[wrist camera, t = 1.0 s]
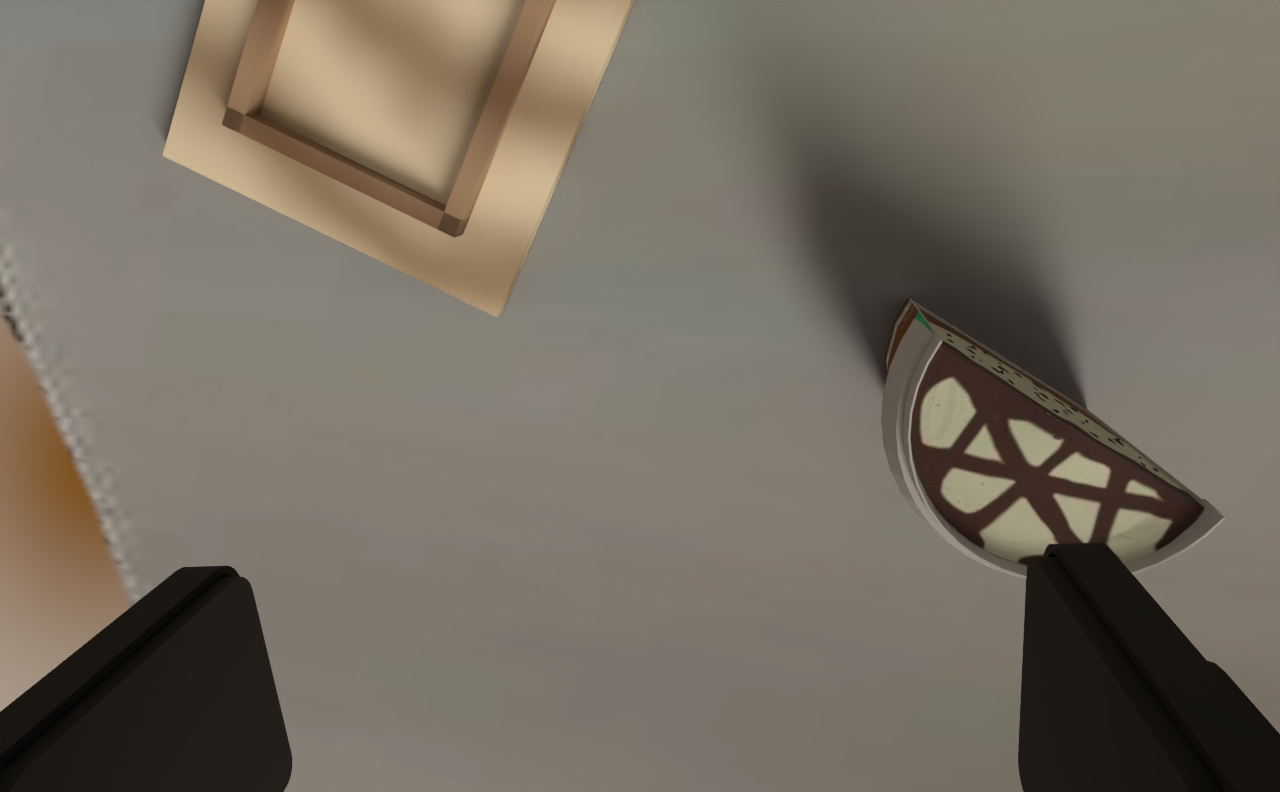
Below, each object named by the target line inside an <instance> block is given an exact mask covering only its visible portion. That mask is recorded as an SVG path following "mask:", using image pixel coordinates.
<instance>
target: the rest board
mask: <svg viewBox="0 0 1280 792" xmlns="http://www.w3.org/2000/svg"><path fill="white" fill-rule="evenodd" d="M634 2H635V0H205V3H204V6H203V10H202V14H201V17H200V21H199V25H198V28H197V32H196V36H195V39H194V43H193V47H192V50H191V54H190V58H189V61H188V65H187V68H186V72H185V76H184V79H183V83H182V87H181V90H180V94H179V98H178V101H177V105H176V109H175V112H174V116H173V120H172V123H171V127H170V131H169V134H168V138H167V141H166V145H165V149H164V152H163V156H164V157H166V158H168V159H170V160H172V161H174V162H177V163H179V164H181V165H183V166H185V167H187V168H189V169H191V170H193V171H195V172H197V173H199V174H201V175H203V176H205V177H208V178H210V179H212V180H214V181H216V182H218V183H220V184H222V185H224V186H226V187H228V188H230V189H232V190H234V191H237V192H239V193H241V194H243V195H245V196H247V197H249V198H251V199H253V200H255V201H257V202H259V203H261V204H263V205H266V206H268V207H270V208H272V209H274V210H276V211H278V212H280V213H282V214H284V215H286V216H288V217H290V218H292V219H295V220H297V221H299V222H301V223H303V224H305V225H307V226H309V227H311V228H313V229H315V230H317V231H319V232H321V233H323V234H326V235H328V236H330V237H332V238H334V239H336V240H338V241H340V242H342V243H344V244H346V245H348V246H350V247H352V248H355V249H357V250H359V251H361V252H363V253H365V254H367V255H369V256H371V257H373V258H375V259H377V260H379V261H381V262H384V263H386V264H388V265H390V266H392V267H394V268H396V269H398V270H400V271H402V272H404V273H406V274H408V275H410V276H412V277H415V278H417V279H419V280H421V281H423V282H425V283H427V284H429V285H431V286H433V287H435V288H437V289H439V290H441V291H444V292H446V293H448V294H450V295H452V296H454V297H456V298H458V299H460V300H462V301H464V302H466V303H468V304H470V305H473V306H475V307H477V308H479V309H481V310H483V311H485V312H487V313H489V314H491V315H493V316H495V317H497V316H499V315H500V314H501V313H502V312H503V310H504V307H505V305H506V303H507V300H508V298H509V296H510V293H511V291H512V288H513V286H514V284H515V281H516V279H517V277H518V274H519V272H520V270H521V267H522V265H523V263H524V260H525V258H526V256H527V253H528V251H529V249H530V246H531V244H532V242H533V239H534V237H535V234H536V232H537V230H538V227H539V225H540V223H541V220H542V218H543V216H544V213H545V211H546V209H547V206H548V204H549V202H550V199H551V197H552V195H553V192H554V190H555V188H556V185H557V183H558V180H559V178H560V176H561V173H562V171H563V169H564V166H565V164H566V162H567V159H568V157H569V155H570V152H571V150H572V148H573V145H574V143H575V141H576V138H577V136H578V134H579V131H580V129H581V126H582V124H583V122H584V119H585V117H586V115H587V112H588V110H589V108H590V105H591V103H592V101H593V98H594V96H595V94H596V91H597V89H598V87H599V84H600V82H601V80H602V77H603V75H604V72H605V70H606V68H607V65H608V63H609V61H610V58H611V56H612V54H613V51H614V49H615V47H616V44H617V42H618V40H619V37H620V35H621V33H622V30H623V28H624V26H625V23H626V21H627V18H628V16H629V14H630V11H631V9H632V7H633V4H634Z"/></svg>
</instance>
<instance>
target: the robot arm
mask: <svg viewBox="0 0 1280 792" xmlns="http://www.w3.org/2000/svg"><path fill="white" fill-rule="evenodd" d="M1018 765H1019V774H1020V779H1021V784H1022V788H1023V791H1024V792H1280V734H1279V733H1278V732H1277V731H1276V730H1275V728H1274V727H1273V726H1272V725H1271V724H1270V723H1269V722H1268V720H1267V719H1266V718H1265V717H1264V716H1263V715H1262V714H1261V712H1260V711H1259V710H1258V709H1257V708H1256V707H1255V706H1254V704H1253V703H1252V702H1251V701H1250V700H1249V699H1248V698H1247V696H1246V695H1245V694H1244V693H1243V692H1242V691H1241V690H1240V688H1239V687H1238V686H1237V685H1236V684H1235V683H1234V682H1233V680H1232V679H1231V678H1230V677H1229V676H1228V675H1227V674H1226V672H1225V671H1224V670H1222V669H1221V668H1220V667H1219V666H1218V665H1216V664H1215V663H1213V662H1209V661H1206V659H1205V658H1204V657H1203V656H1202V655H1201V654H1200V652H1199V651H1198V650H1197V649H1196V648H1195V647H1194V645H1193V644H1192V643H1191V642H1190V641H1189V640H1188V638H1187V637H1186V636H1185V635H1184V634H1183V633H1182V631H1181V630H1180V629H1179V628H1178V627H1177V626H1176V624H1175V623H1174V622H1173V621H1172V620H1171V619H1170V617H1169V616H1168V615H1167V614H1166V613H1165V612H1164V610H1163V609H1162V608H1161V607H1160V606H1159V605H1158V603H1157V602H1156V601H1155V600H1154V599H1153V598H1152V596H1151V595H1150V594H1149V593H1148V592H1147V591H1146V589H1145V588H1144V587H1143V586H1142V585H1141V584H1140V582H1139V581H1138V580H1137V579H1136V578H1135V577H1134V576H1133V574H1132V573H1131V572H1130V571H1129V570H1128V569H1127V567H1126V566H1125V565H1124V564H1123V563H1122V562H1121V560H1120V559H1119V558H1118V557H1117V556H1116V555H1115V553H1114V552H1113V551H1112V550H1111V549H1110V548H1109V546H1107V545H1106V544H1105V543H1070V544H1049V545H1048V546H1047V547H1046V549H1045V552H1044V557H1031V558H1030V559H1029V562H1028V565H1027V577H1026V598H1025V620H1024V642H1023V664H1022V685H1021V707H1020V729H1019V751H1018ZM291 771H292V754H291V750H290V746H289V741H288V737H287V733H286V729H285V725H284V720H283V716H282V712H281V708H280V704H279V699H278V695H277V691H276V687H275V683H274V678H273V674H272V670H271V666H270V661H269V657H268V653H267V649H266V645H265V640H264V636H263V632H262V628H261V624H260V619H259V615H258V611H257V607H256V603H255V598H254V594H253V590H252V587H251V584H250V583H249V581H248V580H247V579H246V578H244V577H240V576H239V574H238V573H237V572H236V570H235V569H234V568H232V567H230V566H207V567H183V568H181V569H179V570H177V571H176V572H174V573H173V574H172V575H171V576H169V577H168V578H167V579H166V580H164V581H163V582H162V583H161V584H159V585H158V586H157V587H156V588H154V589H153V590H152V591H151V592H149V593H148V594H147V595H146V596H144V597H143V598H142V599H141V600H139V601H138V602H137V603H136V604H134V605H133V606H132V607H131V608H129V609H128V610H127V611H126V612H124V613H123V614H122V615H121V616H119V617H118V618H117V619H116V620H115V621H113V622H112V623H111V624H110V625H108V626H107V627H106V628H104V629H103V630H102V631H101V632H100V633H98V634H97V635H96V636H94V637H93V638H92V639H91V640H89V641H88V642H87V643H86V644H84V645H83V646H82V647H81V648H80V649H79V650H77V651H76V652H75V653H73V654H72V655H71V656H70V657H68V658H67V659H66V660H65V661H63V662H62V663H61V664H60V665H58V666H57V667H56V668H55V669H54V670H52V671H51V672H50V673H48V674H47V675H46V676H45V677H43V678H42V679H41V680H40V681H38V682H37V683H36V684H35V685H33V686H32V687H31V688H30V689H28V690H27V691H26V692H25V693H23V694H22V695H21V696H20V697H18V698H17V699H16V700H15V701H13V702H12V703H11V704H10V705H9V706H7V707H6V708H5V709H3V710H2V711H1V712H0V792H283V791H284V790H285V788H286V786H287V784H288V782H289V779H290V776H291Z"/></svg>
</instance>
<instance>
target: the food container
mask: <svg viewBox="0 0 1280 792" xmlns="http://www.w3.org/2000/svg"><path fill="white" fill-rule="evenodd" d="M885 361H886V378H887V380H886V384H885V388H884V392H883V403H882V417H881V422H882V433H883V443H884V448H885V452H886V455H887V459H888V463H889V466H890V470H891V472H892V474H893V476H894V478H895V480H896V482H897V485H898V487H899V489H900V491H901V493H902V494H903V496H904V497H905V498H906V500H907V501H908V503H909V504H910V505H911V507H912V508H913V510H914V511H915V513H916V514H917V515H918V516H919V517H920V518H921V519H922V520H923V521H924V522H925V523H926V524H927V525H928V526H929V527H930V528H931V529H932V530H933V531H935V532H936V533H937V534H938V535H940V536H941V537H942V538H943V539H945V540H946V541H947V542H949V543H950V544H951V545H953V546H954V547H955V548H957V549H958V550H960V551H961V552H962V553H964V554H965V555H967V556H968V557H970V558H972V559H974V560H976V561H978V562H980V563H982V564H984V565H986V566H988V567H990V568H992V569H995V570H998V571H1001V572H1004V573H1007V574H1010V575H1013V576H1017V577H1022V578H1025V579H1026V577H1027V565H1028V562H1029V559H1030V558H1031V557H1044V552H1045V549H1046V547H1047V546H1048V545H1049V544H1070V543H1105V544H1106V545H1107V546H1109V548H1110V549H1111V550H1112V551H1113V552H1114V553H1115V555H1116V556H1117V557H1118V558H1119V559H1120V560H1121V562H1122V563H1123V564H1124V565H1125V566H1126V567H1127V569H1128V570H1129V571H1130V572H1131V573H1132V574H1133V575H1134V574H1137V573H1140V572H1143V571H1145V570H1148V569H1151V568H1153V567H1156V566H1159V565H1161V564H1163V563H1164V562H1166V561H1168V560H1170V559H1172V558H1174V557H1176V556H1178V555H1180V554H1182V553H1183V552H1185V551H1186V550H1188V549H1189V548H1191V547H1192V546H1193V545H1195V544H1196V543H1198V542H1199V541H1200V540H1202V539H1203V538H1205V537H1206V536H1207V535H1208V534H1210V533H1211V532H1212V531H1213V530H1214V529H1215V528H1216V527H1217V526H1218V525H1219V524H1220V523H1221V522H1223V521H1224V520H1225V519H1226V518H1225V517H1224V516H1222V514H1221V513H1220V512H1219V511H1218V510H1217V509H1216V508H1215V507H1214V506H1212V505H1211V504H1210V503H1209V502H1208V501H1206V500H1205V499H1203V500H1202V499H1201V498H1200V497H1198V496H1197V495H1196V494H1195V493H1193V492H1192V491H1191V490H1190V489H1188V488H1187V487H1186V486H1184V485H1183V484H1182V483H1181V482H1179V481H1178V480H1177V479H1175V478H1174V477H1173V476H1172V475H1170V474H1169V473H1168V472H1167V471H1165V470H1164V469H1163V468H1161V467H1160V466H1159V465H1158V464H1156V463H1155V462H1154V461H1152V460H1151V459H1150V458H1149V457H1147V456H1146V455H1145V454H1144V453H1142V452H1141V451H1140V450H1138V449H1137V448H1136V447H1135V446H1133V445H1132V444H1131V443H1130V442H1128V441H1127V440H1126V439H1124V438H1123V437H1122V436H1121V435H1119V434H1118V433H1117V432H1115V431H1114V430H1113V429H1112V428H1110V427H1109V426H1108V425H1107V424H1105V423H1104V422H1103V421H1101V420H1100V419H1099V418H1098V417H1096V416H1095V415H1094V414H1093V413H1091V412H1090V411H1089V410H1087V409H1086V408H1084V407H1083V406H1081V405H1079V404H1078V403H1076V402H1075V401H1073V400H1071V399H1070V398H1068V397H1067V396H1065V395H1063V394H1062V393H1060V392H1059V391H1057V390H1055V389H1054V388H1052V387H1051V386H1049V385H1047V384H1046V383H1044V382H1043V381H1041V380H1040V379H1038V378H1036V377H1035V376H1033V375H1032V374H1030V373H1028V372H1027V371H1025V370H1024V369H1022V368H1020V367H1019V366H1017V365H1016V364H1014V363H1012V362H1011V361H1009V360H1008V359H1006V358H1004V357H1003V356H1001V355H1000V354H998V353H996V352H995V351H993V350H992V349H990V348H988V347H987V346H985V345H984V344H982V343H980V342H979V341H977V340H976V339H974V338H972V337H971V336H969V335H968V334H966V333H964V332H963V331H961V330H960V329H958V328H957V327H955V326H953V325H952V324H950V323H949V322H947V321H945V320H944V319H942V318H941V317H939V316H937V315H936V314H934V313H933V312H931V311H929V310H928V309H926V308H925V307H923V306H921V305H920V304H918V303H917V302H915V301H913V300H912V299H910V298H909V297H908V299H907V300H906V302H905V304H904V305H903V307H902V309H901V310H900V312H899V314H898V315H897V317H896V319H895V320H894V324H893V327H892V331H891V335H890V338H889V342H888V346H887V350H886V353H885Z"/></svg>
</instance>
